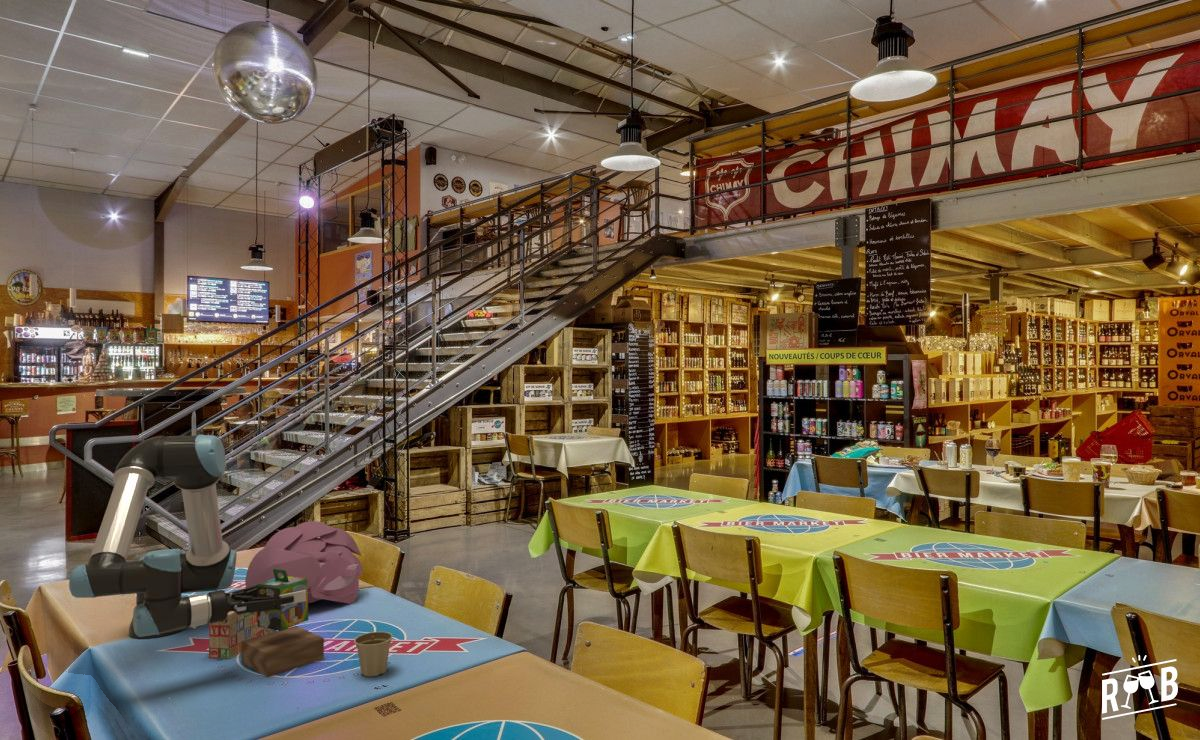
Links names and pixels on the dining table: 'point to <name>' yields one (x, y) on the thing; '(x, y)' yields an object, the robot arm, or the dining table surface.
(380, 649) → the flower pot
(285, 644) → the walnut base block
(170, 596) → the robot arm
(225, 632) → the stack of blocks
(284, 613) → the chalk box
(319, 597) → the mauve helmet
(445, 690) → the dining table surface
